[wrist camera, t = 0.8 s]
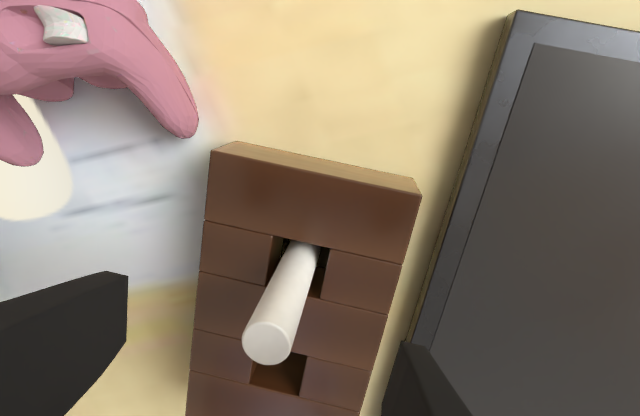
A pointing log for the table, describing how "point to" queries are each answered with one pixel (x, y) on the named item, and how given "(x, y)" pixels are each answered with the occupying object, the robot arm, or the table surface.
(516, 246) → the tablet
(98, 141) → the table surface
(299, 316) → the white rounded rod
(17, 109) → the pink curved piece
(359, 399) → the pen holder
